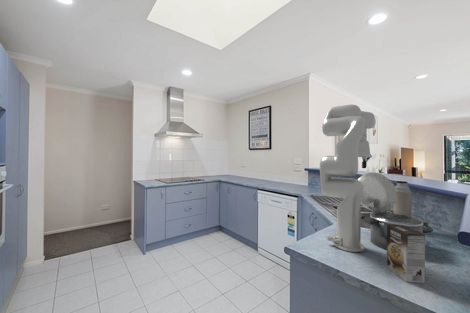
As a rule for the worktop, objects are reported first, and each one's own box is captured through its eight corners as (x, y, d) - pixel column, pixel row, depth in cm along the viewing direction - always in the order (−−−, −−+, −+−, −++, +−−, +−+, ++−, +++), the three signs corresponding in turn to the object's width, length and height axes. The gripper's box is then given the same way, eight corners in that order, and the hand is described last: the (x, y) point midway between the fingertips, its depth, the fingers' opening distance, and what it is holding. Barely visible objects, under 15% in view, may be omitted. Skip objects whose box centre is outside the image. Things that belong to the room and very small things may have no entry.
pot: (381, 254, 85) (381, 224, 85) (355, 236, 104) (355, 211, 104) (444, 256, 83) (443, 225, 84) (406, 237, 103) (406, 213, 103)
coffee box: (385, 267, 74) (385, 224, 74) (403, 267, 74) (403, 224, 74) (406, 282, 65) (405, 233, 65) (426, 283, 65) (426, 233, 65)
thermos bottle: (412, 229, 115) (412, 181, 116) (409, 232, 110) (409, 182, 111) (395, 226, 121) (395, 180, 122) (391, 228, 116) (391, 181, 117)
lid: (392, 172, 110) (388, 174, 113) (353, 172, 111) (350, 173, 114) (400, 213, 104) (395, 213, 107) (359, 212, 105) (355, 212, 108)
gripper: (348, 138, 120) (348, 168, 120) (377, 138, 119) (377, 168, 119) (342, 139, 128) (342, 167, 127) (369, 139, 127) (369, 168, 127)
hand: (359, 167), depth 123 cm, fingers open, 4 cm apart
